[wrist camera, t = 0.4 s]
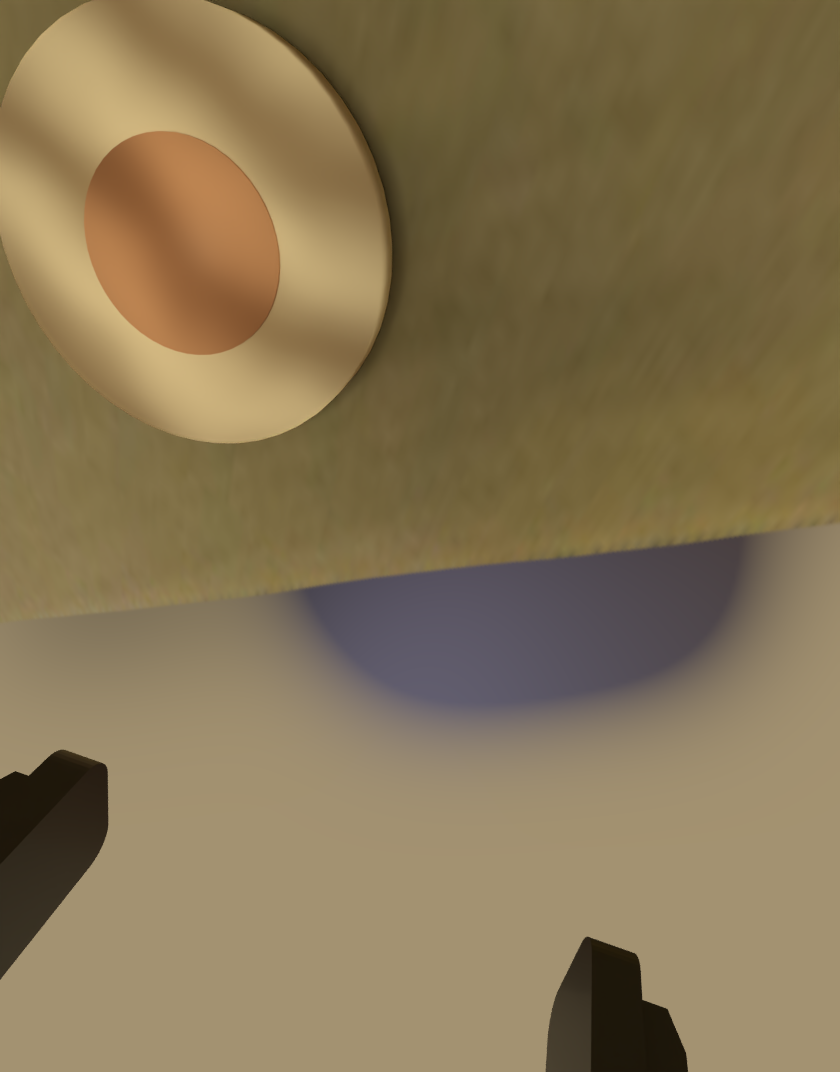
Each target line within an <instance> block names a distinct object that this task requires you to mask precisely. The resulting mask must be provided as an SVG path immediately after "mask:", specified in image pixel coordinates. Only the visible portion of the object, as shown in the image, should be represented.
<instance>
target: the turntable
mask: <svg viewBox="0 0 840 1072" xmlns="http://www.w3.org/2000/svg"><path fill="white" fill-rule="evenodd" d="M0 235H1V239H2V243H3V247H4V250H5V253H6V256H7V259H8V262H9V265H10V267H11V270H12V273H13V276H14V278H15V280H16V282H17V285H18V287H19V289H20V291H21V293H22V295H23V298H24V300H25V302H26V304H27V305H28V307H29V309H30V311H31V312H32V314H33V316H34V317H35V319H36V321H37V323H38V324H39V326H40V327H41V329H42V330H43V332H44V333H45V335H46V336H47V337H48V339H49V340H50V342H51V343H52V345H53V346H54V347H55V349H56V350H57V351H58V352H59V353H60V354H61V356H62V357H63V358H64V359H65V360H66V362H67V363H68V364H69V365H70V366H71V367H72V368H73V369H74V370H75V371H76V372H77V373H78V374H79V375H80V376H81V377H82V378H83V379H84V380H85V381H86V382H87V383H88V384H89V385H90V386H91V387H92V388H93V389H95V390H96V391H97V392H98V393H100V394H101V395H102V396H103V397H105V398H106V399H107V400H108V401H110V402H111V403H112V404H114V405H116V406H117V407H119V408H120V409H122V410H123V411H125V412H126V413H128V414H129V415H131V416H133V417H135V418H137V419H139V420H140V421H142V422H144V423H146V424H148V425H150V426H152V427H155V428H157V429H160V430H162V431H165V432H168V433H170V434H173V435H177V436H180V437H184V438H188V439H192V440H197V441H204V442H211V443H243V442H251V441H258V440H262V439H265V438H269V437H273V436H276V435H279V434H282V433H284V432H286V431H288V430H290V429H293V428H295V427H297V426H299V425H301V424H302V423H304V422H305V421H307V420H308V419H310V418H311V417H313V416H314V415H316V414H317V413H318V412H319V411H321V410H322V409H323V408H324V407H325V406H326V405H327V404H328V403H329V402H331V401H332V400H333V399H334V398H335V397H336V396H337V395H338V394H339V393H340V392H341V390H342V389H343V388H344V387H345V386H346V385H347V384H348V383H349V381H350V380H351V379H352V378H353V377H354V375H355V374H356V373H357V372H358V370H359V369H360V367H361V366H362V364H363V362H364V361H365V359H366V357H367V356H368V354H369V353H370V351H371V349H372V347H373V344H374V342H375V340H376V337H377V335H378V333H379V330H380V328H381V325H382V321H383V318H384V314H385V311H386V307H387V304H388V297H389V291H390V284H391V278H392V237H391V226H390V217H389V212H388V207H387V203H386V198H385V193H384V188H383V185H382V182H381V179H380V176H379V173H378V170H377V167H376V164H375V161H374V158H373V156H372V153H371V151H370V149H369V147H368V145H367V143H366V140H365V138H364V136H363V134H362V132H361V130H360V128H359V126H358V124H357V123H356V121H355V119H354V118H353V116H352V114H351V113H350V111H349V110H348V108H347V106H346V105H345V103H344V101H343V100H342V98H341V97H340V96H339V95H338V93H337V92H336V91H335V89H334V88H333V87H332V86H331V84H330V83H329V82H328V81H327V79H326V78H325V77H324V75H323V74H322V73H321V72H320V71H319V70H318V69H317V68H316V67H315V66H314V65H313V64H312V63H311V62H310V61H309V60H308V59H307V58H306V57H305V56H304V55H303V54H302V53H301V52H300V51H299V50H297V49H296V48H295V47H293V46H292V45H291V44H290V43H288V42H287V41H286V40H284V39H283V38H282V37H280V36H279V35H278V34H276V33H275V32H274V31H272V30H270V29H269V28H267V27H265V26H263V25H262V24H260V23H258V22H256V21H254V20H253V19H251V18H249V17H247V16H245V15H243V14H240V13H237V12H235V11H232V10H229V9H227V8H224V7H222V6H219V5H216V4H213V3H211V2H208V1H205V0H93V1H90V2H87V3H84V4H82V5H80V6H79V7H77V8H75V9H74V10H72V11H70V12H69V13H67V14H65V15H64V16H62V17H60V18H59V19H58V20H57V21H56V22H55V23H54V24H52V25H51V26H50V27H49V28H48V29H47V30H46V31H45V32H43V33H42V34H41V35H40V36H39V37H38V39H37V40H36V41H35V43H34V44H33V45H32V46H31V48H30V49H29V50H28V51H27V53H26V54H25V55H24V57H23V58H22V60H21V62H20V64H19V66H18V67H17V69H16V71H15V73H14V75H13V76H12V78H11V80H10V82H9V85H8V88H7V91H6V93H5V96H4V99H3V102H2V104H1V107H0Z"/></svg>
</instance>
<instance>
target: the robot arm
mask: <svg viewBox="0 0 840 1072" xmlns="http://www.w3.org/2000/svg"><path fill="white" fill-rule="evenodd" d="M107 830H108V771H107V767H106V765H105V764H103V763H100V762H97V761H95V760H92V759H89V758H86V757H83V756H81V755H78V754H75V753H72V752H69V751H66V750H59V751H56V752H54V753H53V754H52V755H50V756H49V757H48V758H47V759H46V760H45V761H44V762H43V763H42V764H41V765H40V766H39V767H38V768H37V769H35V770H34V771H33V772H32V774H30V775H29V776H27V775H24V774H22V773H19V772H16V771H15V772H13V773H11V774H9V775H7V776H5V777H3V778H2V779H0V979H1V978H2V977H3V975H4V974H5V973H6V971H7V970H8V969H9V968H10V967H11V965H12V964H13V963H14V962H15V960H16V959H17V958H18V956H19V955H20V954H21V953H22V951H23V950H24V949H25V947H26V946H27V945H28V944H29V943H30V941H31V940H32V939H33V938H34V936H35V935H36V934H37V933H38V931H39V930H40V929H41V927H42V926H43V925H44V924H45V922H46V921H47V920H48V919H49V917H50V916H51V915H52V913H53V912H54V911H55V910H56V909H57V907H58V906H59V905H60V904H61V902H62V901H63V900H64V898H65V897H66V896H67V895H68V893H69V892H70V891H71V890H72V888H73V887H74V886H75V885H76V883H77V882H78V881H79V880H80V878H81V877H82V876H83V875H84V873H85V872H86V871H87V869H88V868H89V867H90V866H91V864H92V863H93V861H94V860H95V858H96V857H97V855H98V853H99V851H100V849H101V847H102V845H103V843H104V840H105V837H106V834H107ZM641 988H642V987H641V971H640V963H639V959H638V957H637V955H636V954H635V953H632V952H630V951H626V950H624V949H621V948H618V947H615V946H613V945H610V944H607V943H604V942H601V941H598V940H596V939H593V938H590V937H586V938H585V939H584V940H583V941H582V943H581V945H580V947H579V949H578V952H577V953H576V955H575V957H574V959H573V961H572V964H571V966H570V968H569V970H568V972H567V974H566V976H565V978H564V980H563V982H562V984H561V986H560V988H559V990H558V992H557V995H556V997H555V1001H554V1005H553V1008H552V1013H551V1018H550V1024H549V1031H548V1043H547V1060H546V1072H688V1067H687V1058H686V1052H685V1050H684V1047H683V1045H682V1043H681V1040H680V1038H679V1035H678V1033H677V1031H676V1028H675V1026H674V1024H673V1022H672V1019H671V1017H670V1014H669V1012H668V1009H666V1008H663V1007H660V1006H658V1005H655V1004H652V1003H649V1002H647V1001H644V1000H642V989H641Z"/></svg>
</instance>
